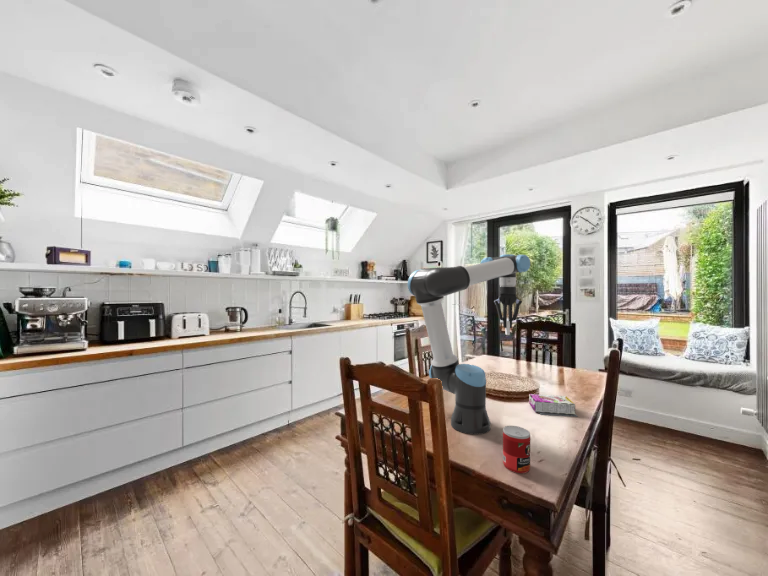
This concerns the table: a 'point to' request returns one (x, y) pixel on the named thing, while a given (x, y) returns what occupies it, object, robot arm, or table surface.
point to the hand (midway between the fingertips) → (507, 334)
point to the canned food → (516, 449)
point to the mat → (557, 414)
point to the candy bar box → (551, 404)
